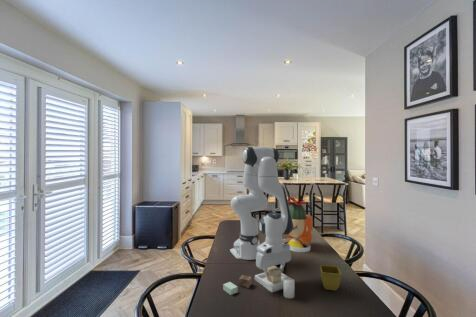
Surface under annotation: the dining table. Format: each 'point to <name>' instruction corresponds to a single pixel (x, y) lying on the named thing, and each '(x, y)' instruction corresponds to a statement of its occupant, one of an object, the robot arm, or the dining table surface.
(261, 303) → the dining table surface
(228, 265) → the dining table surface
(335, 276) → the flower pot
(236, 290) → the green box
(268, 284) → the tray
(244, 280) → the walnut block
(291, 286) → the white capsule shape
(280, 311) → the dining table surface
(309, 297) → the dining table surface
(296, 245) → the potted cactus
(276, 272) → the oak block
